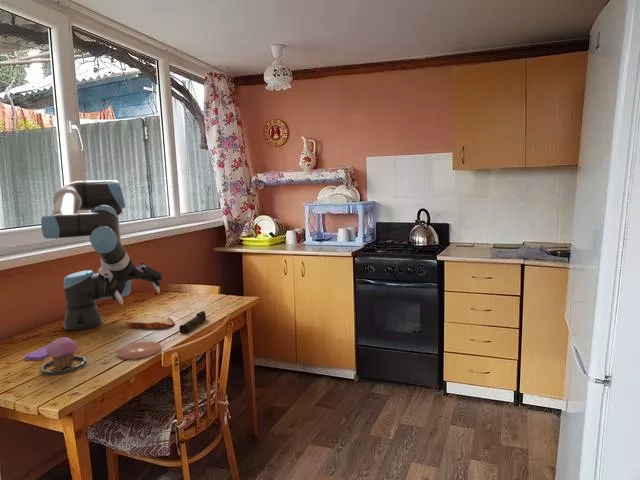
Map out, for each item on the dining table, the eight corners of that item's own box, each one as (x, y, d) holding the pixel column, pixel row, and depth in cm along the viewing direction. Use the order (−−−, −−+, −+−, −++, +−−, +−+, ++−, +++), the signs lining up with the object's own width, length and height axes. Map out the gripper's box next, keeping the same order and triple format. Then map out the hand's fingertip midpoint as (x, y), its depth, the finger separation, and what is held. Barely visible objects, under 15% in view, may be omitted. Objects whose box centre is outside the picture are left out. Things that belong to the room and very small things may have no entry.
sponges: (24, 361, 165) (23, 356, 165) (50, 348, 177) (49, 343, 177) (42, 361, 164) (41, 356, 164) (66, 348, 176) (66, 343, 176)
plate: (107, 356, 165) (107, 354, 165) (138, 342, 179) (138, 339, 179) (140, 362, 159) (140, 359, 159) (169, 346, 173) (169, 344, 173)
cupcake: (73, 359, 164) (70, 332, 162) (82, 366, 158) (79, 337, 156) (45, 367, 157) (42, 339, 156) (53, 374, 151) (50, 345, 150)
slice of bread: (122, 326, 201) (122, 317, 200) (164, 317, 211) (164, 309, 211) (133, 337, 186) (132, 328, 186) (177, 327, 197) (177, 318, 196)
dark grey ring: (32, 371, 154) (31, 368, 154) (67, 357, 166) (67, 354, 166) (60, 377, 149) (60, 373, 149) (94, 361, 161) (94, 358, 161)
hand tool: (187, 334, 186) (187, 323, 186) (179, 334, 188) (178, 323, 187) (211, 320, 204) (210, 310, 204) (203, 319, 206) (202, 309, 205)
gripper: (81, 282, 152) (106, 314, 168) (157, 260, 156) (175, 293, 173) (80, 265, 156) (105, 297, 173) (154, 244, 161) (172, 277, 177)
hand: (140, 295), depth 173 cm, fingers open, 13 cm apart
